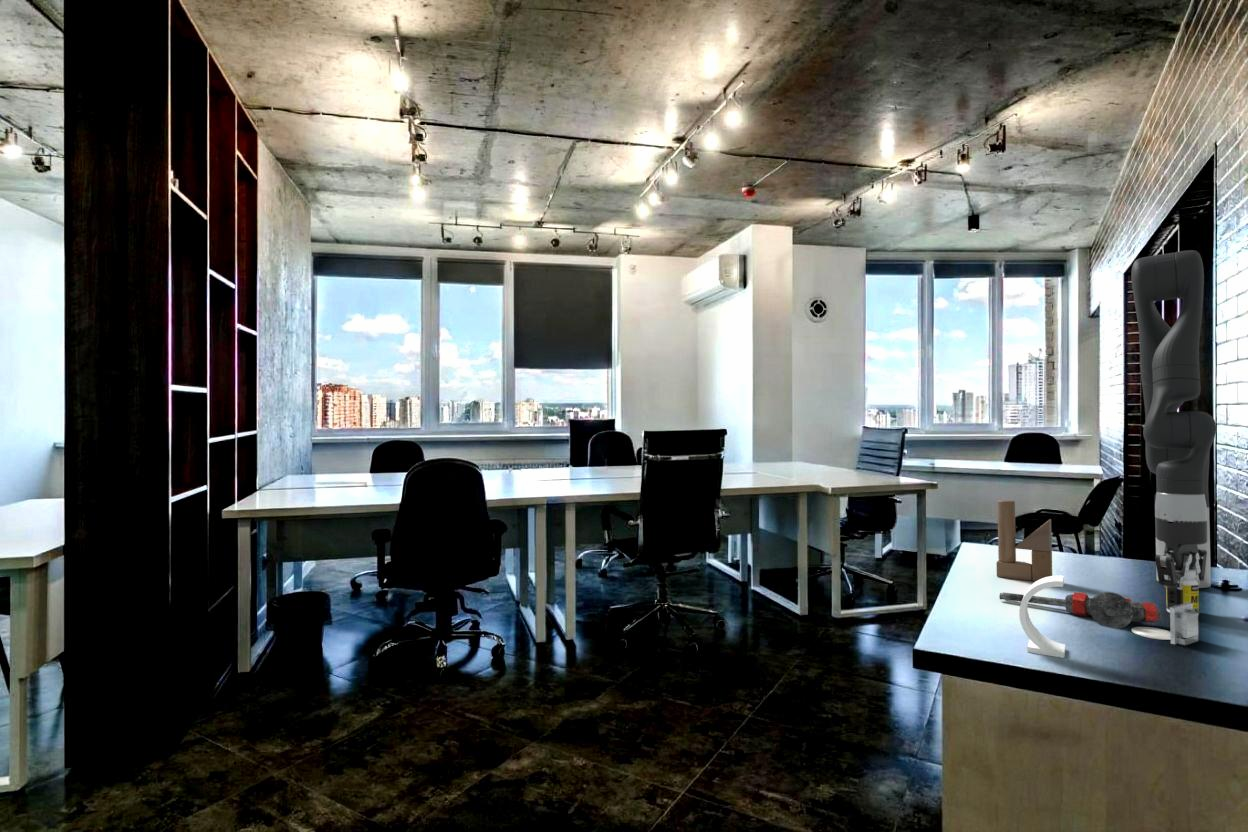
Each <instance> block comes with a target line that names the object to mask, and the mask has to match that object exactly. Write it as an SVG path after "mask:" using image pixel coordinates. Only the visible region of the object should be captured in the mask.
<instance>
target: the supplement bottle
mask: <svg viewBox="0 0 1248 832" xmlns="http://www.w3.org/2000/svg"><path fill="white" fill-rule="evenodd" d="M1176 572H1181V571H1177V570H1176ZM1195 578H1196V571H1195V570H1193V569H1192V570H1189V571H1188V577H1187V578H1185V579H1184V582H1183V588H1182V590H1183V603H1187V602H1190V603H1193V612H1196V613H1198V616H1199V615H1200V602H1199V601H1200V599H1199V598H1200V597H1199V594H1200V593H1199V589H1200V588H1199V585H1198V582H1197V581H1196V580H1194V579H1195ZM1177 579H1178V577H1177ZM1165 588H1166V590H1165V591H1166V592H1165V593H1166V596H1165V597H1166V600H1165V601H1166V611H1167V613H1169V614H1170V608H1169V607H1168V606H1167V587H1165Z"/></svg>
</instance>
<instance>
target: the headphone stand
mask: <svg viewBox="0 0 1248 832" xmlns="http://www.w3.org/2000/svg"><path fill="white" fill-rule="evenodd" d="M1064 581H1065V576H1064V575H1052V576H1049V577H1045V578H1042V579H1040V580H1038V581H1036V582H1034V581H1033V583H1032V584H1031V585H1030V586H1029V587H1028V588H1027V589H1026V591H1025V592H1024V594H1023V595H1024V596H1023V599H1022V602H1020V605H1019V615H1018V616H1019V621H1020V625H1021V628H1022V630H1023V631H1024V634H1025V635H1026V637H1027V638H1028V639H1029V640H1028V643H1027V648H1026V649H1027V652H1026V653H1031V654H1037V655H1038V654H1039V655H1043V656H1050V657H1057V658H1062V659H1065V655H1066V644H1065V643H1060V642H1057V641H1055V640H1052V639H1051V638H1048V637H1047V636H1045V635H1044V634H1042V633H1041V632H1040V631H1039V630H1038V629H1037V627H1035V625H1034V624H1033V622H1032V621H1031V618H1030V614H1029V610H1028V607H1029V606H1028V605H1029V603H1028V602H1029V600H1030V599H1031V597H1032V596H1035V594H1037V593H1038V592H1041V591H1043V590H1045V589H1049V588H1054V587H1057V588H1059V587H1061V588H1063V587H1064V583H1065V582H1064Z"/></svg>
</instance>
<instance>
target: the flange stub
mask: <svg viewBox="0 0 1248 832" xmlns="http://www.w3.org/2000/svg"><path fill="white" fill-rule="evenodd" d="M1169 620H1170V621H1169V623H1170V625H1169V627H1170V630H1169V631H1170V636H1171V640H1170V644H1171V645H1177V644H1178V645H1181V646H1188V645H1190V644H1193V643H1197V642H1199V615H1198V613H1196V612H1193V603H1190V602H1187V603H1183V604H1180V605H1176V606H1172V607H1170V613H1169Z"/></svg>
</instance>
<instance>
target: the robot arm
mask: <svg viewBox="0 0 1248 832" xmlns="http://www.w3.org/2000/svg"><path fill="white" fill-rule="evenodd" d="M1204 270H1205V269H1204V263H1203V260H1202V257H1201V254H1200V253H1199V252H1198V251H1197V250H1192V249H1191V250H1181V251H1176V252H1168V253H1162V254H1156V255H1150V256H1144V257H1139V258H1137V259H1136V260H1135V261H1134V262H1133V264H1132V267H1131V272H1130V273H1131V288H1132V293H1133V294H1132V295H1133V300H1134V307H1135V313H1136V319H1137V320H1136V321H1137V327H1138V335H1139V337H1138V339H1139V362H1140V364H1139V365H1140V368H1139V369H1140V380H1141V387H1142V395H1143V402H1144V403H1143V404H1144V413H1145V414H1144V415H1145V417H1144V418H1145V422H1144V425H1143V431H1142V434H1143V438H1144V441H1145V460H1146V465H1147V468H1148V470H1149V471H1150V472H1151V474H1155V476H1156V478H1155V479H1156V482H1155V483H1156V493H1155V494H1154V517H1155V519H1154V521H1155V522H1154V523H1155V566H1156V567H1155V568H1156V569H1155V570H1156V576H1155V577H1156V581H1157V582H1158V584H1159V585H1160V586H1162V587H1163V586H1164V588H1166V587H1167V602H1166V604H1167V605H1166V607H1167V606H1168V607H1169V608H1170V607H1172V606H1176V605H1180V604H1183V590H1182V588H1183V582H1184V579H1185V578H1187V577H1188V571H1189V570H1192V569H1193V570H1195V571H1196V578H1195V579H1194V580H1196V581H1197V582H1198V585H1199V589H1204V588H1205V589H1207V588H1210V587H1211V582H1212V581H1211V577H1212V576H1211V538H1210V537H1211V535H1210V534H1211V531H1210V529H1211V527H1210V526H1211V525H1210V498H1209V497H1210V495H1209V474H1210V473H1209V471H1210V453H1211V448H1212V445H1213V443H1214V440H1215V437H1216V433H1217V423H1216V420H1215V419H1214V417H1213V416H1212V415H1211V414H1209V413H1208V412H1205V411H1177V410H1178V409H1179V408H1180V407H1181V406H1183V404H1185V403H1184V402H1188V401H1193V400H1195V399H1197V398H1198V397H1199V396H1200V395H1201V389H1202V387H1201V373H1200V338H1201V337H1200V336H1201V329H1202V321H1203V307H1204V306H1203V305H1204V289H1205V288H1204V285H1205V273H1204V272H1205V271H1204ZM1177 299H1178V300H1179V299H1182V305H1181V306H1182V307H1181V309H1180V313H1179V315H1178V317H1177V318H1176V320H1175V322H1174V323H1173V325H1172V327H1171V326H1169V324H1168V322H1166V321H1165V320H1164V319H1163V317H1162V315H1161V314H1160V312H1159V311H1158V309H1157V306H1156V304H1155V302H1162V301H1170V300H1177ZM1176 570H1177V571H1181V572H1176ZM1177 577H1178V579H1177Z"/></svg>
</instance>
